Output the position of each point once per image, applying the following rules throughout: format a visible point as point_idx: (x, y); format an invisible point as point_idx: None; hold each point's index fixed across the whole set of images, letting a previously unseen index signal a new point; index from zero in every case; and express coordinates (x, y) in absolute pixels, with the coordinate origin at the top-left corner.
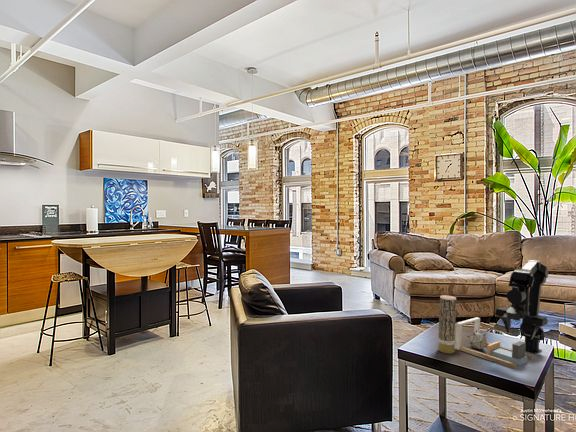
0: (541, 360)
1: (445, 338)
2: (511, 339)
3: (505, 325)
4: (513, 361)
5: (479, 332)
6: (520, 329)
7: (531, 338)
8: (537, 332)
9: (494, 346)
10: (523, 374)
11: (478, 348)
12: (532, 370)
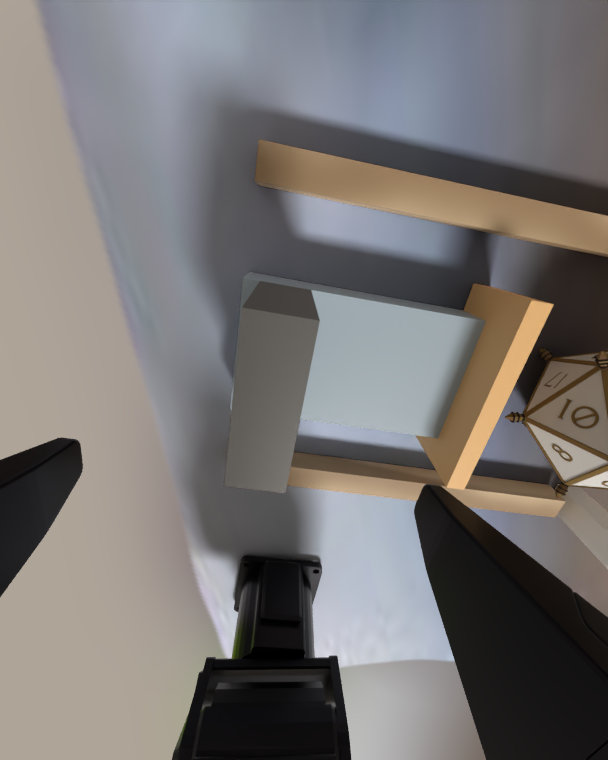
0: (187, 482)
1: None
2: (390, 648)
3: (555, 591)
4: (296, 283)
5: (606, 564)
6: (343, 714)
7: (46, 445)
8: (204, 723)
9: (473, 390)
10: (156, 45)
11: (567, 356)
12: (150, 239)
